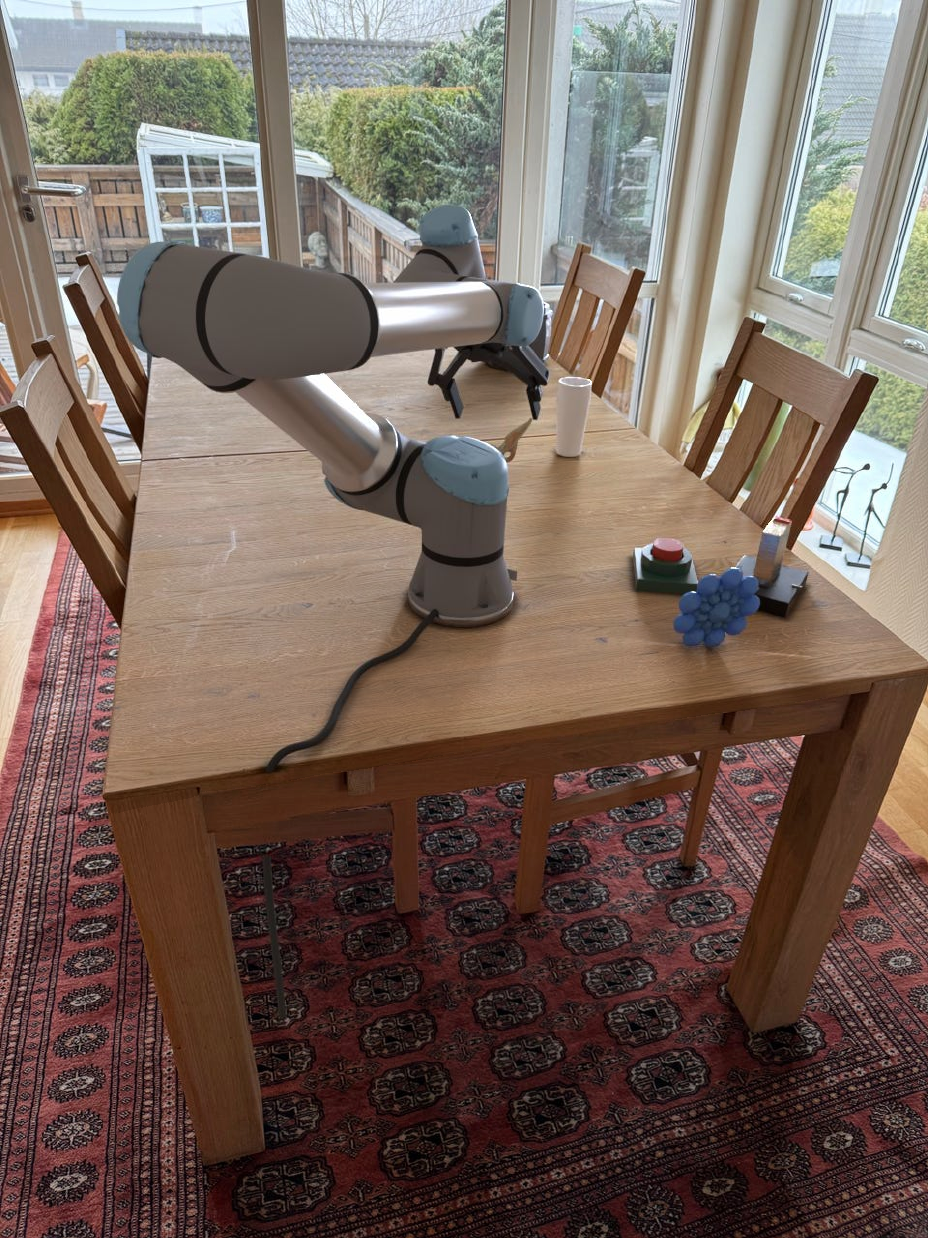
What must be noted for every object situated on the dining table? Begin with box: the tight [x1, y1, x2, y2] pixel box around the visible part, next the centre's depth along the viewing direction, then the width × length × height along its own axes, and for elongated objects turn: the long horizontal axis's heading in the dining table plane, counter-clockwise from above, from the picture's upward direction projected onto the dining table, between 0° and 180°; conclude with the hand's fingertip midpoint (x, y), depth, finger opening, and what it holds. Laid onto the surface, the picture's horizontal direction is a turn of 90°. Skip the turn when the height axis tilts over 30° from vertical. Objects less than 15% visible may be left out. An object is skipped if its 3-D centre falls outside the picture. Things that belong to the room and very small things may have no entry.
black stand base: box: [730, 554, 809, 619], centre depth 139 cm, size 12×11×3 cm
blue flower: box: [672, 567, 760, 648], centre depth 123 cm, size 12×7×12 cm, turn 98°
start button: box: [652, 537, 685, 561], centre depth 140 cm, size 5×5×2 cm
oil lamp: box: [486, 417, 533, 464], centre depth 178 cm, size 9×21×10 cm, turn 93°
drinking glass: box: [554, 376, 593, 458], centre depth 185 cm, size 7×7×15 cm
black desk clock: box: [486, 300, 554, 372], centre depth 243 cm, size 18×18×16 cm
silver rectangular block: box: [753, 515, 793, 588], centre depth 136 cm, size 6×3×9 cm, turn 148°
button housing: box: [632, 543, 699, 595], centre depth 142 cm, size 11×9×4 cm
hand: (497, 413), depth 153 cm, fingers open, 13 cm apart
